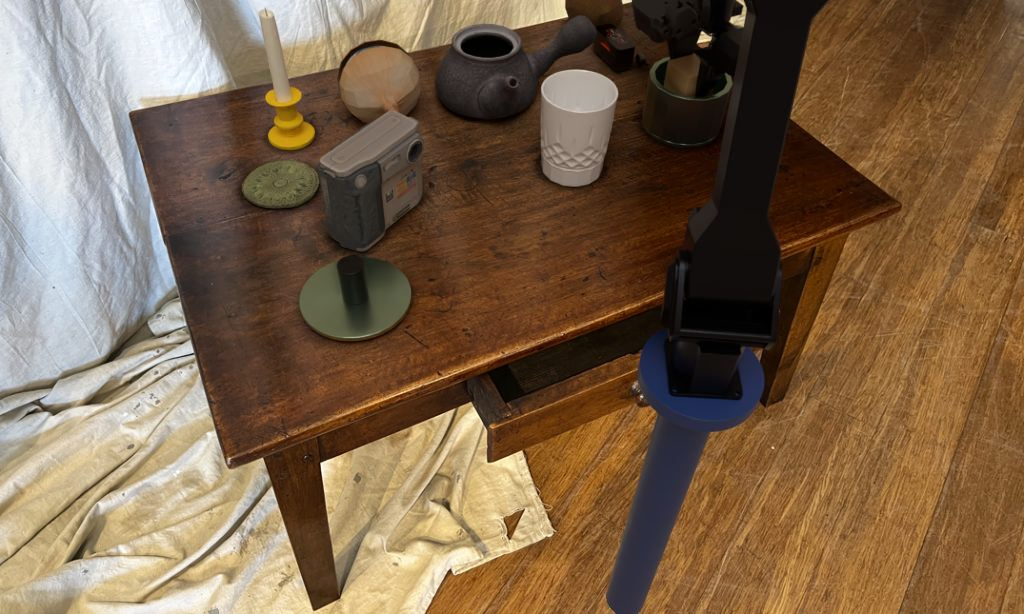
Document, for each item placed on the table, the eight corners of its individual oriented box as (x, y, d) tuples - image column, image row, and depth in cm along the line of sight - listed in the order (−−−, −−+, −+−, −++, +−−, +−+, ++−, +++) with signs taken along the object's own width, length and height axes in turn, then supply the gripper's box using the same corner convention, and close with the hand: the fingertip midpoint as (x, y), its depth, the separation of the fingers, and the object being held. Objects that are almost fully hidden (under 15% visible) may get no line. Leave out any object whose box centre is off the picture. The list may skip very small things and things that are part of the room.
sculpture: (394, 16, 94) (423, 49, 82) (416, 90, 99) (445, 132, 87) (318, 40, 92) (336, 77, 81) (345, 114, 98) (365, 159, 86)
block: (710, 101, 91) (718, 70, 88) (682, 109, 90) (689, 78, 87) (690, 83, 93) (697, 52, 90) (662, 91, 92) (668, 60, 89)
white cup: (531, 148, 91) (536, 70, 83) (599, 145, 91) (610, 68, 84) (541, 192, 85) (546, 113, 78) (612, 189, 86) (625, 110, 79)
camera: (359, 260, 78) (346, 179, 70) (317, 235, 80) (301, 154, 72) (435, 201, 84) (430, 121, 76) (395, 179, 86) (386, 99, 79)
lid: (403, 348, 70) (399, 310, 67) (289, 342, 70) (278, 303, 67) (418, 267, 77) (415, 228, 73) (314, 262, 77) (305, 222, 73)
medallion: (226, 196, 83) (225, 190, 83) (274, 155, 88) (272, 149, 88) (289, 219, 81) (287, 214, 80) (334, 176, 86) (333, 171, 85)
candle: (323, 128, 92) (300, 0, 80) (302, 154, 89) (275, 24, 77) (282, 119, 93) (254, -9, 81) (260, 145, 90) (227, 15, 78)
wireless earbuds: (618, 76, 101) (622, 53, 99) (590, 49, 105) (593, 27, 103) (649, 69, 102) (653, 46, 100) (620, 42, 107) (624, 20, 104)
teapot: (459, 150, 90) (457, 71, 83) (424, 78, 100) (420, 2, 92) (611, 122, 95) (622, 45, 87) (563, 56, 104) (570, -18, 97)
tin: (723, 150, 91) (737, 101, 87) (644, 146, 92) (653, 97, 87) (714, 105, 98) (726, 57, 93) (639, 101, 98) (647, 53, 93)
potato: (606, -41, 110) (553, -25, 111) (623, -37, 99) (563, -19, 100) (619, 18, 114) (567, 34, 114) (636, 28, 103) (578, 46, 103)
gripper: (601, -71, 82) (586, 64, 94) (709, 9, 71) (677, 151, 83) (688, -88, 86) (664, 44, 97) (804, -14, 75) (761, 125, 86)
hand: (688, 88), depth 91 cm, fingers closed on block, 4 cm apart
